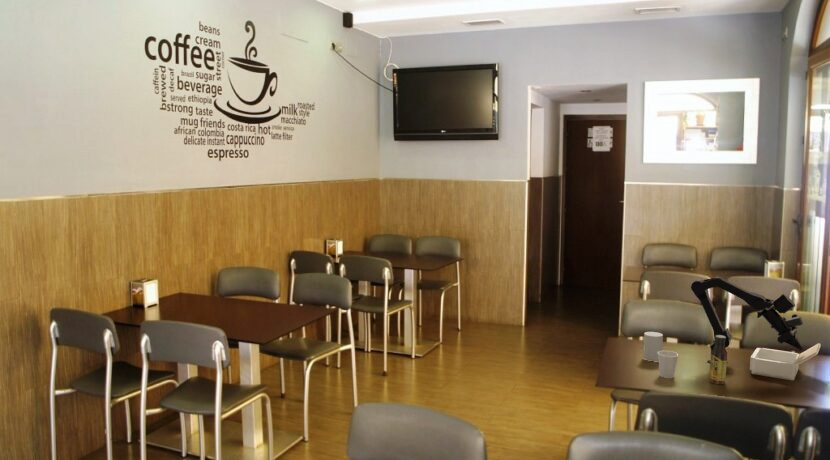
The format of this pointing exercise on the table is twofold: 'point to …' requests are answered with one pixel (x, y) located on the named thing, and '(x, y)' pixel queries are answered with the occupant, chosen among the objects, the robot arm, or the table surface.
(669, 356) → the dixie cup
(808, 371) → the table surface
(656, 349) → the cup
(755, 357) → the carton
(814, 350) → the carton flap
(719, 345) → the sauce bottle
